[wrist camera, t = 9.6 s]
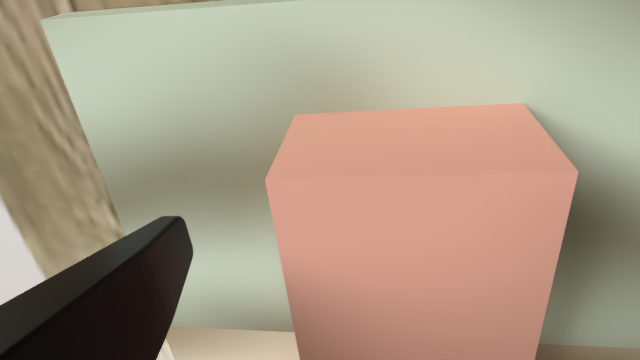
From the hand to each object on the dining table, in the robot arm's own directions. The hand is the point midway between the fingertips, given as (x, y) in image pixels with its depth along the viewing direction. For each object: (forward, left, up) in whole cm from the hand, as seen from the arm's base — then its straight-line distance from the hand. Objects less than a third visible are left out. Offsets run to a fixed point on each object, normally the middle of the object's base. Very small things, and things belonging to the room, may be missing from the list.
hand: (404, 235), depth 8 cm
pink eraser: (-3, 0, -2) cm, 4 cm away
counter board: (-8, 0, -4) cm, 9 cm away
